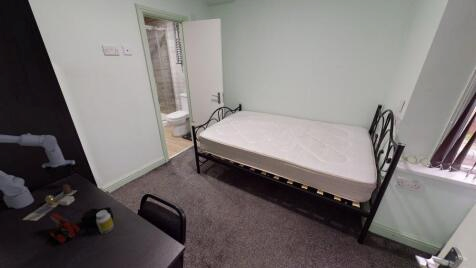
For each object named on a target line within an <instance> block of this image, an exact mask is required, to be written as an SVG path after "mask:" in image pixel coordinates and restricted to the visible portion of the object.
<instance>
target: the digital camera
mask: <svg viewBox="0 0 476 268" xmlns="http://www.w3.org/2000/svg"><path fill="white" fill-rule="evenodd" d="M102 210H106V211H107V213H109V214H110V216H111V218H112V221H113V220H114V214H113V212H112V208H111V207H110V206H109V207H103V208H90V209H89V210H87V211H85V212H84V213H83V215H82V216H81V222H82V224H83V227H84V228H85V230H87V229H92V228H98V225H97V223H96V219H97V217H96V214H97V213H98V212H100V211H102Z"/></svg>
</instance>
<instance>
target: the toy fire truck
mask: <svg viewBox="0 0 476 268" xmlns="http://www.w3.org/2000/svg"><path fill="white" fill-rule="evenodd" d="M49 217H50V219H51V221H52V223H53V224H54V226H55V229H52V230H50V231H49V234H50V236H51V237H52V238H53V239H54V240H55V239H56V240H57V241H58V242H59V244H63V243H65V242H66V241H67V238H68V237H69V238H71V239H73V238H74V237H76V234H78V233H79V232H80V231H81V229H80V227H79V225H77V224H74V223H73V222H72V221H71V220H69V219H67V218H65V217H63V216H61V215H59V214H58V213H56V212H54V213H52V214H50V215H49Z"/></svg>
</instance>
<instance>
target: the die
mask: <svg viewBox="0 0 476 268" xmlns="http://www.w3.org/2000/svg"><path fill="white" fill-rule="evenodd" d="M75 200H76V199H75V197H74V196H73V195H69V196H66V197H64V198H63V199H61V200H60V201H59V202H60V204H59V205H61V206H69V205H71V204H72V203H73V202H74V201H75Z"/></svg>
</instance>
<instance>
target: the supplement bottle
mask: <svg viewBox="0 0 476 268" xmlns="http://www.w3.org/2000/svg"><path fill="white" fill-rule="evenodd" d="M96 217H97V219H96V223H97V225H98V227H97V228H98V230H99V232H100V233H101V234H102V235H103V234H107V233H109V232H111V231H112V230H113V229H114V227H115V225H114V221H113V220H112V218H111V216H110V214H109V213H107V211H106V210H102V211H100V212H98V213H97V214H96Z"/></svg>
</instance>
